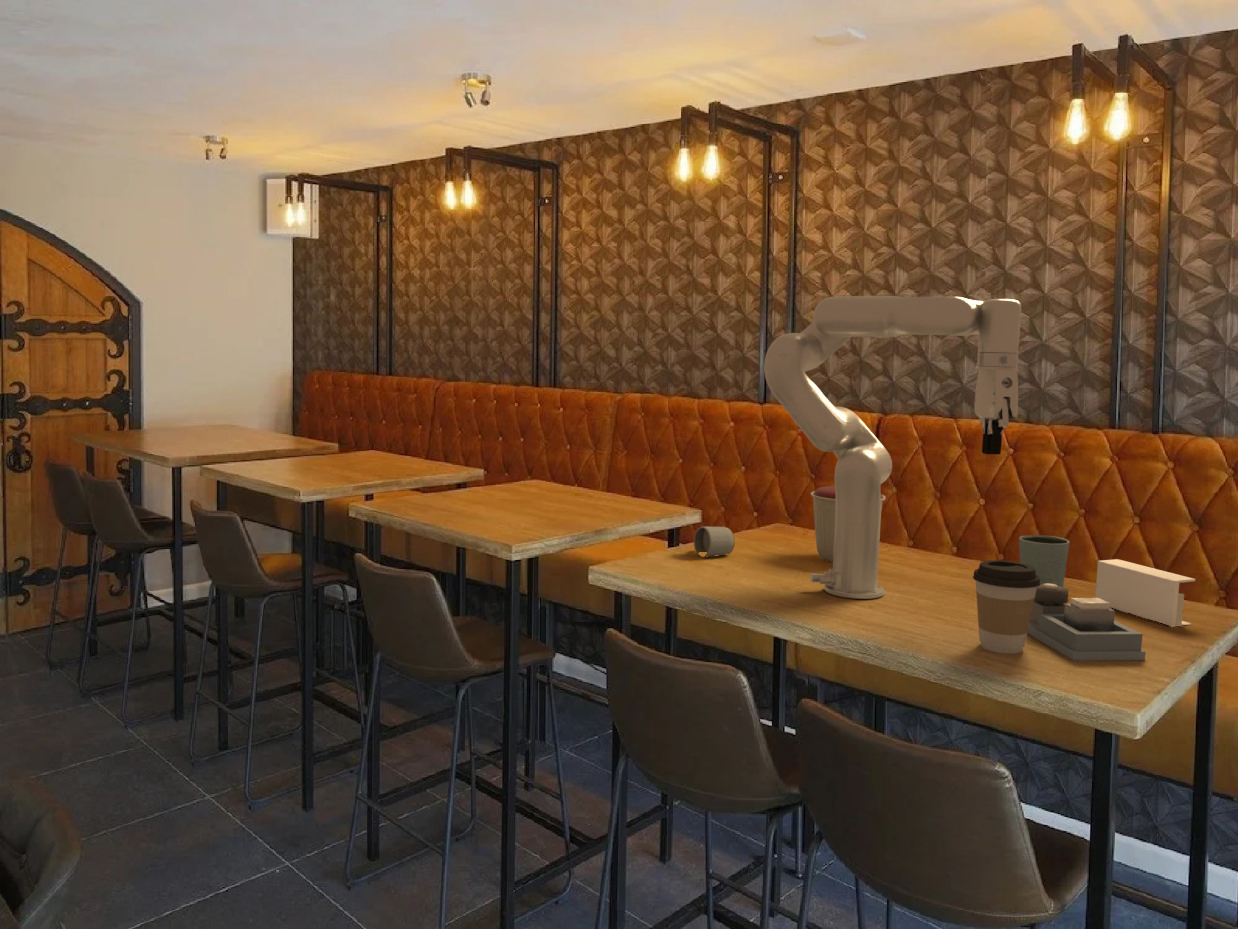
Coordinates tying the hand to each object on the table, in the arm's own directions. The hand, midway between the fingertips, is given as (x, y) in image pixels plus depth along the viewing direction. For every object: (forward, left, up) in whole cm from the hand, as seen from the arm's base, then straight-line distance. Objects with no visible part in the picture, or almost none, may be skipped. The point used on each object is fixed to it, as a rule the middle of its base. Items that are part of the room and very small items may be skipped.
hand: (991, 453), depth 203 cm
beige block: (+8, -26, -31) cm, 41 cm away
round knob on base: (+6, -15, -30) cm, 34 cm away
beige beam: (+32, -3, -32) cm, 46 cm away
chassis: (+8, -22, -32) cm, 40 cm away
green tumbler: (+20, +14, -32) cm, 40 cm away
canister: (-14, +46, -32) cm, 58 cm away
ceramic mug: (-47, +52, -32) cm, 77 cm away
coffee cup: (-8, -26, -32) cm, 42 cm away
